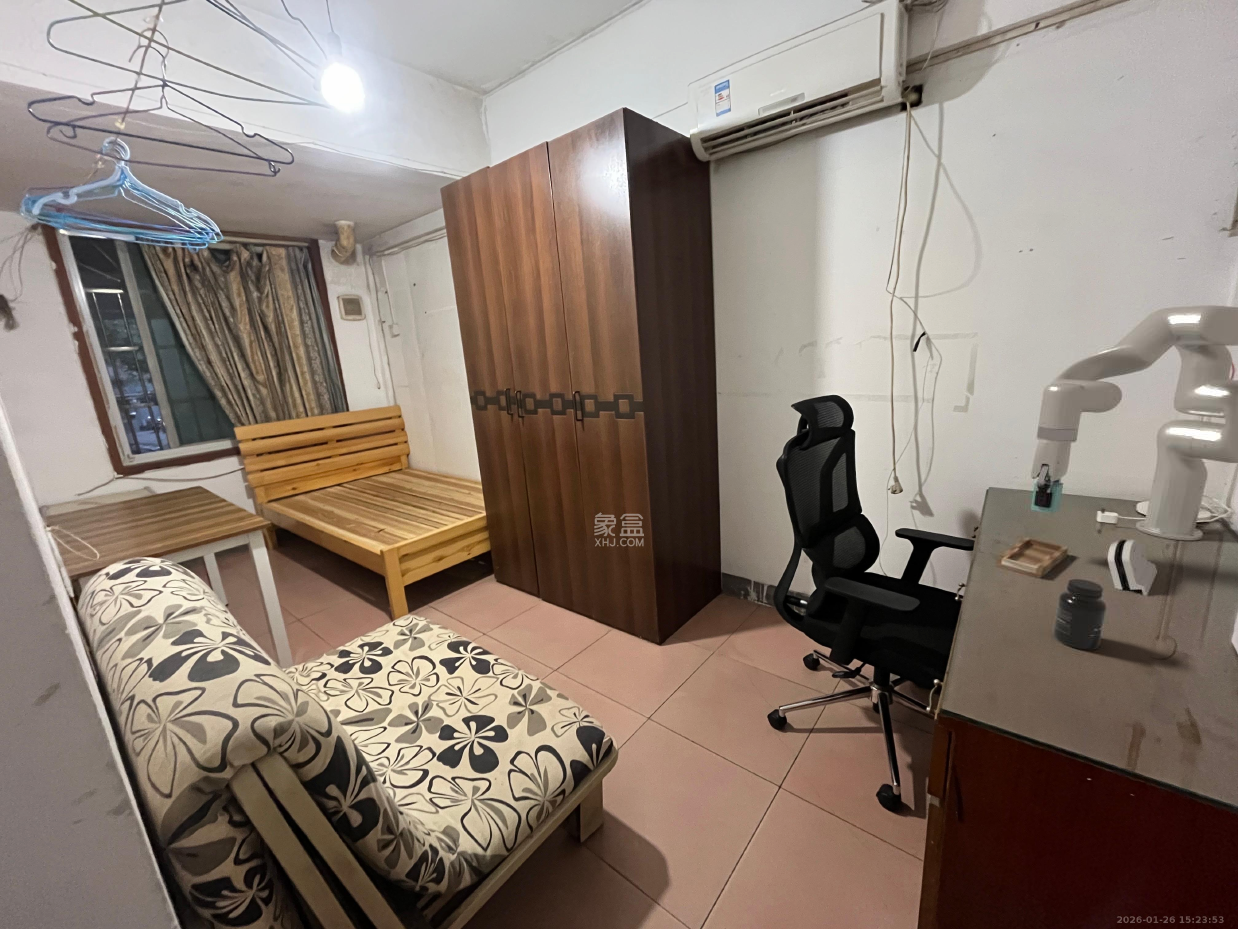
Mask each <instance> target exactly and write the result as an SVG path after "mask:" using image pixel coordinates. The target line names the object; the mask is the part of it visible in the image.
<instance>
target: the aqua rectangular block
mask: <svg viewBox="0 0 1238 929" xmlns="http://www.w3.org/2000/svg"><path fill="white" fill-rule="evenodd" d="M1046 484H1048V486H1049V483H1048V482H1046ZM1063 487H1064V482H1061V483H1059V482H1053V486H1052V491H1051V493H1053V495H1052V501H1051V507H1050V508H1045V507H1039V506H1035V505H1034V501H1035V495H1036V488H1037V481H1036V482H1034V484H1033V492H1032V498H1031V505H1030V510H1033V511H1038V512H1042V513H1048V514H1054V513H1056V512H1057V511H1059V510H1060V504H1061V500H1062V499H1061V498H1062V493H1063Z"/></svg>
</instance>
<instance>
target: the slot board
mask: <svg viewBox="0 0 1238 929" xmlns="http://www.w3.org/2000/svg"><path fill="white" fill-rule="evenodd" d="M1068 550H1069V547H1068V546H1064V545H1060V544H1055V543H1052V542H1047V541H1043V540H1039V539H1035V538H1031V537H1024V538H1023V539H1021V540H1020V541H1019V542H1017V543H1016V544H1015V545H1012V547H1010V548H1009V549H1008V550H1006V551H1004V552H1003V553H1002V554H1000V555H999V556H998V557H997V558H996V565H995V566H996V567H997V568H1002V569H1004V570H1008V571H1011V572H1015V573H1018V574H1023V575H1026V576H1030V577H1032V576H1033V578H1036V577H1037V578H1036V579H1041V577H1042V578H1043V577H1045V575H1046V574H1047V573H1049V572H1050V571H1051V570H1052V569H1053V568H1054V567H1056V565H1058V564H1059V563H1060V562H1061V561H1062V560H1064V558H1066V557H1067V555H1068ZM1048 571H1049V572H1048Z"/></svg>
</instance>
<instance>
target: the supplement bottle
mask: <svg viewBox="0 0 1238 929" xmlns="http://www.w3.org/2000/svg"><path fill="white" fill-rule="evenodd" d="M1103 591H1104V588H1103V586H1102V585H1101V584H1098V583H1097V582H1094V581H1091V580H1087V579H1080V578H1073V579H1070V580H1068V584H1067V586H1066V591H1063V592H1062V593H1061V594H1059V596H1058V600H1057V606H1056V610H1055V611H1056V612H1055V617H1054V622H1053V628H1052V629H1053V630H1052V634H1053V637H1054V638H1055V639H1056V640H1058V641H1059V643H1063V644H1064V645H1066V646H1069V647H1072V648H1074V649H1079V650H1083V651H1084V650H1087V651H1088V650H1091V651H1092V650H1096V649H1097V648H1099V646H1100V644H1101V640H1102V635H1103V632H1104V631H1103V630H1104V625H1105V621H1106V615H1107V609H1108V606H1107V603H1105V601H1104V600H1103V599H1102V598H1103Z"/></svg>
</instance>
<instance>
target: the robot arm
mask: <svg viewBox="0 0 1238 929" xmlns="http://www.w3.org/2000/svg"><path fill="white" fill-rule="evenodd" d="M1227 346H1232V347H1233V346H1234V347H1235V346H1238V307H1237V306H1228V305H1227V306H1226V305H1196V306H1195V305H1193V306H1177V307H1176V306H1174V307H1166V308H1161V309H1157V310H1155V311H1153V312H1151V313H1150V314H1148V315H1147V316H1146V317H1145V318H1144V319H1143V320H1142V321H1141V322H1139V324H1137V325H1136V326H1135V327H1134V328H1133V329H1132V330H1131V331H1129V333H1127V334H1126V335H1125V336H1124V337H1123V338H1122V339H1120V340H1119V342H1117V343H1116V344H1115V345H1114V346H1112V347H1109V348H1107V349H1104V350H1101V351H1099V352H1097V353H1095V354H1091V355H1089V356H1087V357H1084V358H1083V359H1081V360H1078V361H1076V362H1074V363H1072V364H1071V365H1070V366H1068V367H1067V368H1065V369H1064V370H1063V371H1062V372H1061V373H1060V374H1058V376H1056V378H1054V380H1053V381H1052V382H1051V383H1050V384H1047V385H1046V386H1045V387H1044V389H1043V392H1042V399H1041V406H1040V412H1039V419H1038V426H1037V433H1036V440H1038V443H1037V446H1036V450H1035V454H1034V457H1033V463H1032V467H1031V472H1030V478H1031V479H1033V480H1035V479H1036V482H1037V488H1036V495H1035V501H1034V505H1035V506H1039V507H1045V508H1050V507H1051V501H1052V495H1053V493H1051V491H1052V486H1053V482H1059V483H1062V478H1063V477H1065V476H1066V475H1067V472H1068V469H1069V464H1070V457H1071V447H1072V443H1076V442H1077V439H1078V434H1079V433H1078V432H1079V429H1080V422H1081V417H1082V414H1083V413H1094V414H1097V413H1098V414H1099V413H1100V414H1101V413H1106V412H1109V411H1111V410H1113V409H1115V408H1116V407H1117V406H1118V405H1119V404H1120V403H1121V401H1122V399H1123V398H1122V397H1123V392H1122V389H1121V388H1120V386H1118V385H1116V384H1114V383H1112V382H1109V381H1102V380H1103V379H1107V378H1113V377H1120V376H1125V375H1128V374H1133V373H1136V372H1141V371H1144V370H1146V369H1149V368H1150V367H1152V365H1154V363H1156V362H1157V361H1158V360H1159V359H1160V358H1162V356H1164V354H1165V353H1167V352H1168V351H1169V350H1170V349H1171V348H1172V347H1174V348H1175V349H1176V350H1177V352H1178V354H1179V357H1180V361H1181V364H1180V370H1179V374H1178V379H1177V384H1176V388H1175V392H1174V397H1173V407H1174V409H1175V411H1177V412H1178V413H1181V414H1185V415H1190V416H1198V417H1207V418H1215V419H1216V418H1218V419H1224V421H1225V423H1221V422H1213V421H1207V420H1206V421H1205V420H1198V419H1197V420H1196V419H1175V420H1170V421H1168V422H1166V423H1164V424H1163V425H1162V426H1161V427H1160V428H1159V429H1158V431H1157V434H1156V448H1157V449H1156V450H1157V452H1156V454H1157V455H1156V456H1157V458H1156V465H1155V471H1154V476H1153V480H1152V485H1151V491H1150V495H1149V500H1148V504H1147V509H1146V515H1145V520H1140V521H1137V522H1136V524H1135V528H1136V529H1137V530H1139V531H1140V532H1142V533H1145V534H1147V535H1150V536H1154V537H1159V538H1163V539H1169V540H1177V541H1197V540H1200V539H1202V538H1203V535H1204V533H1203V532H1202V531H1201V530H1200V529H1197V528H1196V527H1197V526H1196V525H1197V522H1198V519H1199V518H1198V517H1199V513H1200V509H1201V507H1202V506H1201V504H1202V500H1203V496H1204V492H1205V488H1206V484H1207V481H1208V476H1209V475H1208V469H1207V467H1206V465H1205V463H1204V461H1203V460H1209V461H1213V462H1221V463H1227V464H1238V379H1237V380H1235V379H1230V375H1231V374H1230V373H1231V369H1232V365H1233V364H1232V363H1233V356H1232V353H1231V351H1230V350H1229V348H1228V347H1227ZM1046 482H1048V483H1049V486H1048V484H1046Z"/></svg>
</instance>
